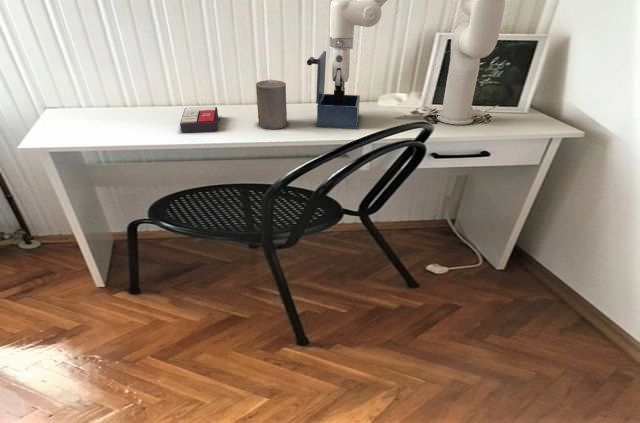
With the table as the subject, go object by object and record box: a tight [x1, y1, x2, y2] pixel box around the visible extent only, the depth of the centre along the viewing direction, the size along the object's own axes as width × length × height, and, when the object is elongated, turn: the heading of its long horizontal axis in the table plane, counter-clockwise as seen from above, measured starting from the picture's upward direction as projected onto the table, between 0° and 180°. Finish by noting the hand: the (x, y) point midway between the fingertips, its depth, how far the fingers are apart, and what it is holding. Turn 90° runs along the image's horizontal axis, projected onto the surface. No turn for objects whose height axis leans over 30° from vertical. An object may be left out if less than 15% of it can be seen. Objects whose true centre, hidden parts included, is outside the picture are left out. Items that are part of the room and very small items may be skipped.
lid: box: [306, 50, 327, 105], centre depth 135 cm, size 14×15×5 cm
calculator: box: [179, 106, 219, 134], centre depth 136 cm, size 11×4×15 cm
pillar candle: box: [255, 78, 288, 130], centre depth 134 cm, size 10×10×15 cm
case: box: [316, 93, 361, 130], centre depth 140 cm, size 13×15×7 cm
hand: (339, 100), depth 138 cm, fingers closed on socket, 3 cm apart
